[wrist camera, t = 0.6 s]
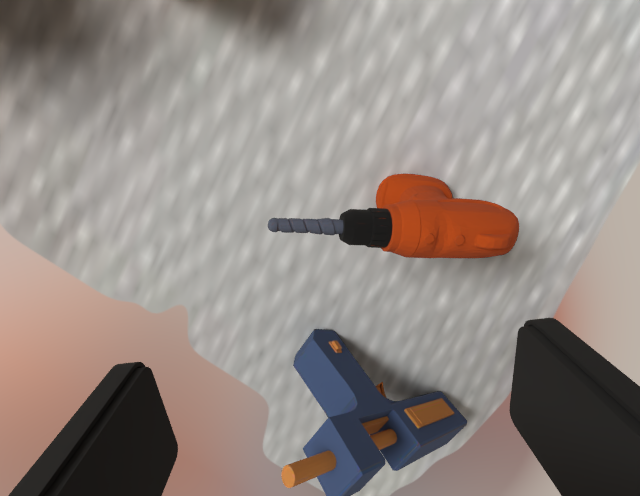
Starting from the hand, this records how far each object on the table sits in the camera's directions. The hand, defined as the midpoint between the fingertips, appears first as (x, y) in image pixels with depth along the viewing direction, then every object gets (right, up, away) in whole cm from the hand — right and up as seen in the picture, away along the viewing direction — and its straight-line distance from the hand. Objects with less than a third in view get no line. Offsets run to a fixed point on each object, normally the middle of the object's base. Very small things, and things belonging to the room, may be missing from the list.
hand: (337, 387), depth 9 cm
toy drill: (+5, +9, +27) cm, 29 cm away
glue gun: (+7, -12, +35) cm, 38 cm away
